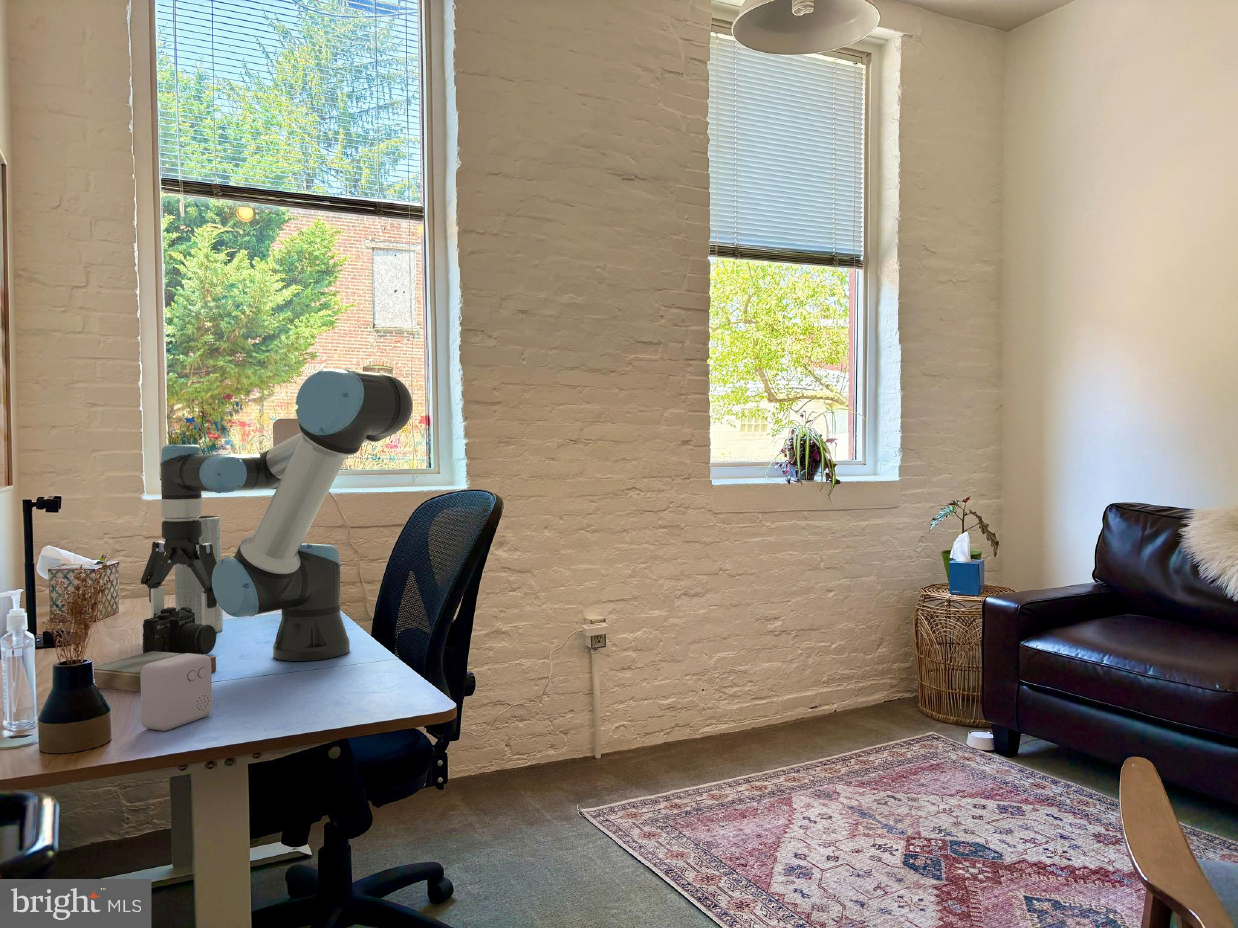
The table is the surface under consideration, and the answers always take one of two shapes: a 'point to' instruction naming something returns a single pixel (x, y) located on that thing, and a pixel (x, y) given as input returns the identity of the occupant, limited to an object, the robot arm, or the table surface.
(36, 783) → the table surface
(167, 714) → the electronic device
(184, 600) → the vase
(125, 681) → the stand
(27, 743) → the table surface
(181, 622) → the camera
